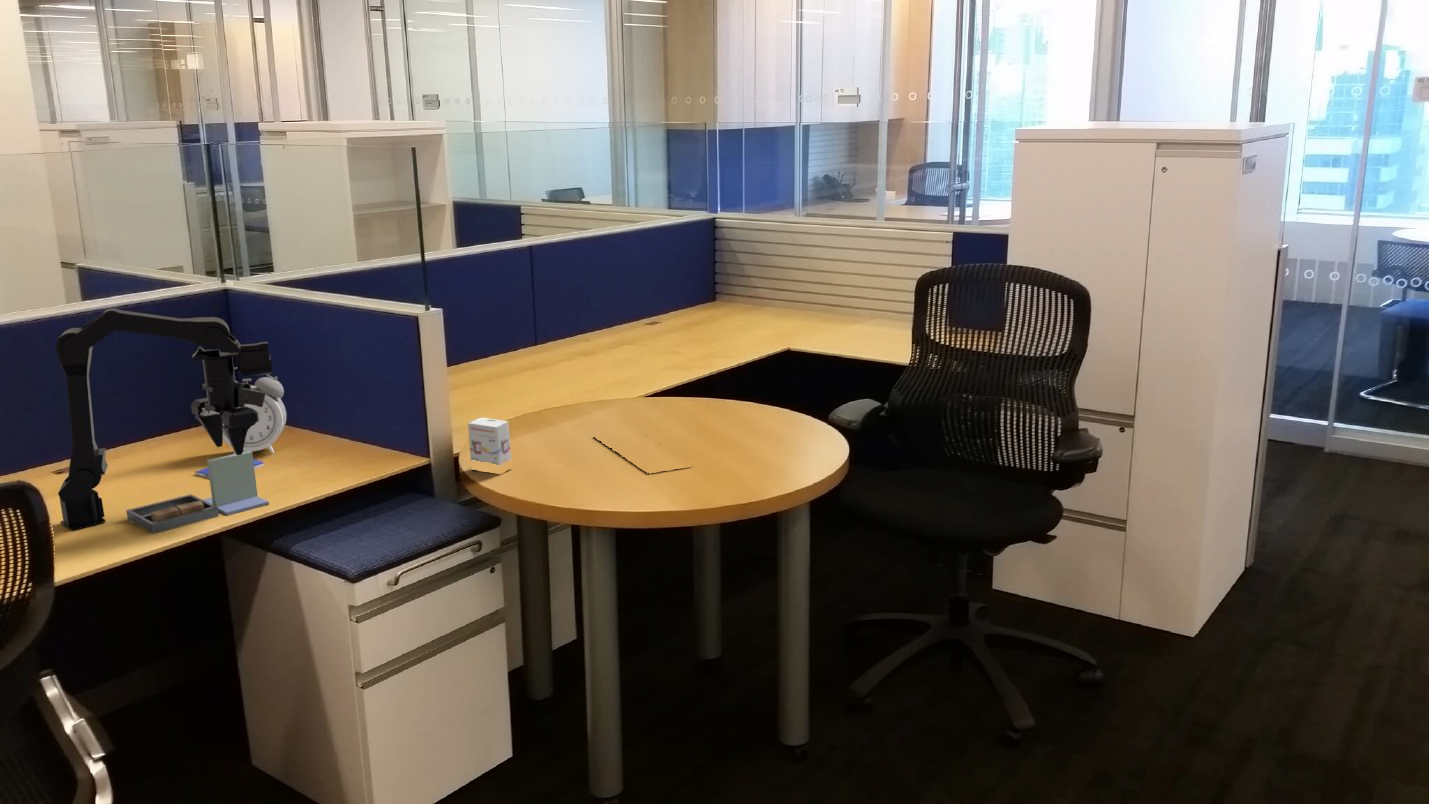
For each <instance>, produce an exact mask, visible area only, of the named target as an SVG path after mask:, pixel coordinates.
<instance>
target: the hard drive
mask: <svg viewBox="0 0 1429 804" xmlns="http://www.w3.org/2000/svg"><path fill="white" fill-rule="evenodd" d="M253 461H254V470H255V469H257V468H260V467H263V466H265V465H264V461H262V460H258V459H254V458H253ZM194 474H195V475H196V476H200V477H203V478H208V479H209V471H208V467H206V468H203V469H198V470H197V471H195V472H194Z"/></svg>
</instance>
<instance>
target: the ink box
mask: <svg viewBox="0 0 1429 804" xmlns="http://www.w3.org/2000/svg"><path fill="white" fill-rule="evenodd" d="M509 426H510V425H509V421H507V420H502V419H501V420H500V419H496V418H495V419H494V418H489V417H488V418H487V417H479V418H477V419H474V420H472V421H469V422H468V423H467V429H468V442H469V453H470V454H469V456H470V461H471V460H476V461H480V462H489V463H492V464H496V465H500V464H502V463H503V462H506V461H507V460H510V459H511V460H512V455H511V439H510V437H511V436H510V427H509Z"/></svg>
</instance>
